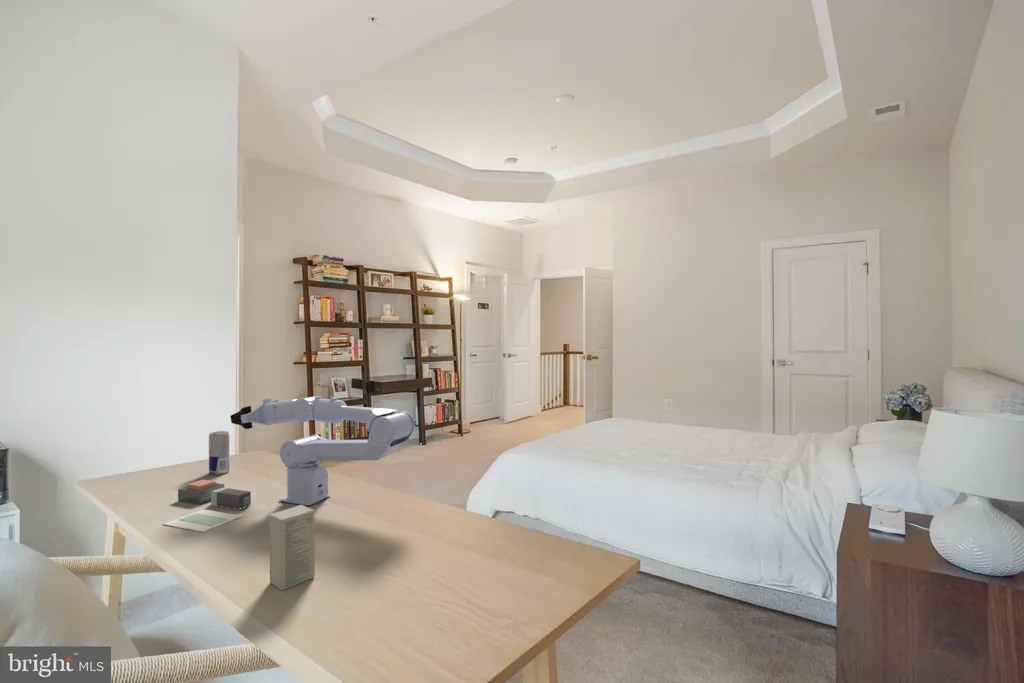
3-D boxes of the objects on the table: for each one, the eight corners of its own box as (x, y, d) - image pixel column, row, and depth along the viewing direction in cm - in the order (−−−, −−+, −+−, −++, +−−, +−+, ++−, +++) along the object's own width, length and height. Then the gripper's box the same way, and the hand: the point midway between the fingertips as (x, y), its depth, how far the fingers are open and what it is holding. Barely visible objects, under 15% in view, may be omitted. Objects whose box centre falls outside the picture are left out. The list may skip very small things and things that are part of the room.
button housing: (224, 495, 135) (224, 484, 135) (199, 504, 128) (199, 492, 128) (203, 492, 137) (203, 481, 137) (178, 500, 131) (178, 489, 130)
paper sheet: (242, 516, 120) (242, 515, 120) (203, 532, 111) (203, 531, 111) (203, 510, 124) (203, 508, 124) (163, 524, 115) (163, 523, 115)
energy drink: (209, 471, 157) (209, 431, 157) (230, 469, 160) (229, 430, 159) (208, 476, 152) (207, 435, 152) (228, 474, 155) (228, 433, 154)
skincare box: (302, 570, 94) (302, 503, 94) (315, 578, 91) (315, 509, 91) (268, 583, 89) (267, 513, 89) (280, 591, 86) (280, 519, 86)
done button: (215, 489, 134) (215, 481, 134) (200, 494, 130) (200, 486, 130) (202, 487, 136) (202, 479, 135) (187, 492, 131) (187, 484, 131)
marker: (253, 505, 128) (253, 492, 128) (242, 510, 125) (242, 496, 125) (223, 500, 131) (223, 487, 131) (211, 505, 128) (211, 491, 128)
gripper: (301, 392, 142) (263, 397, 147) (257, 401, 128) (218, 406, 133) (304, 418, 142) (267, 422, 147) (261, 429, 128) (222, 433, 133)
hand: (244, 416), depth 140 cm, fingers open, 7 cm apart
